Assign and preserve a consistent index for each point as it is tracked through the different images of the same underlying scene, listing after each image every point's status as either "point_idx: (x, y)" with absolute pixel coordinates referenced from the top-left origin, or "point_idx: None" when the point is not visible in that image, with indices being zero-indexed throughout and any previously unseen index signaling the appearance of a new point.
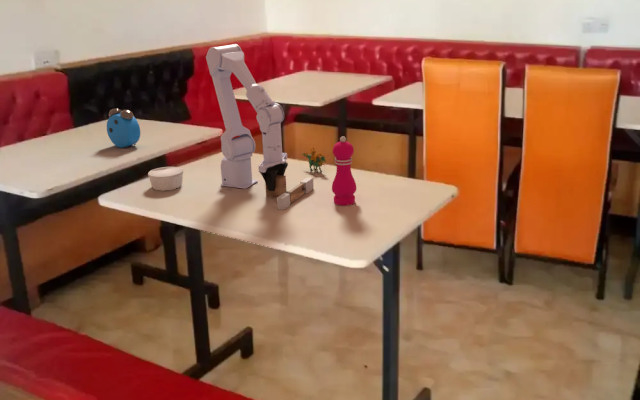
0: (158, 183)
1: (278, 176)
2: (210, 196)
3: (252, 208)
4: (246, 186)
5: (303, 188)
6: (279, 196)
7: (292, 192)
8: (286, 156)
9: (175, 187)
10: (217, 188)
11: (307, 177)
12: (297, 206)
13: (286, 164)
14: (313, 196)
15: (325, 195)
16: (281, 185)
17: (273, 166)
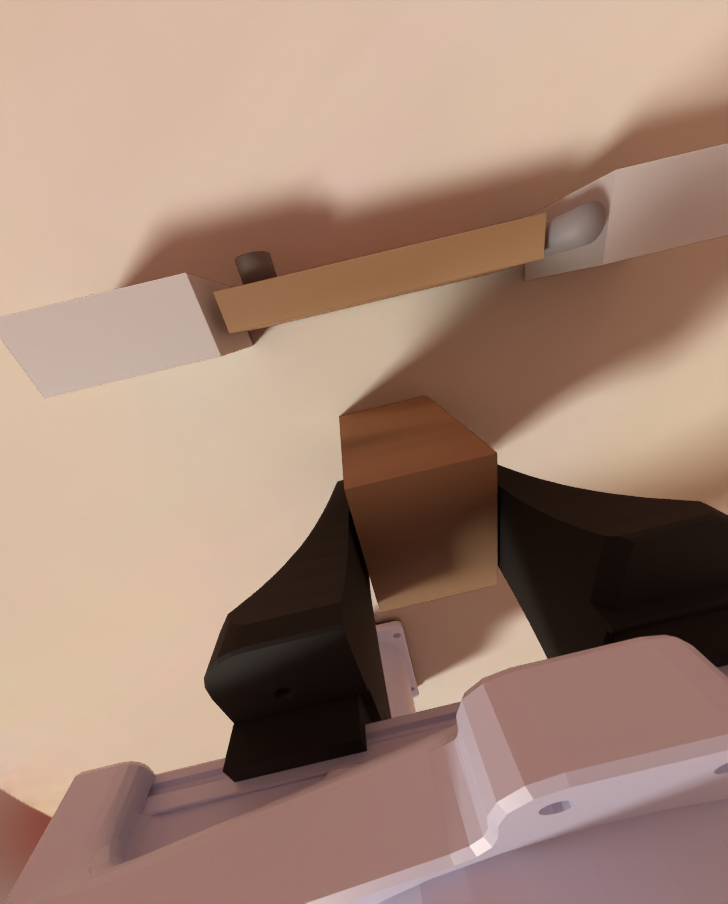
0: None
1: (405, 529)
2: (530, 643)
3: (638, 417)
4: (387, 631)
5: (270, 263)
6: (712, 229)
7: (496, 227)
8: (55, 871)
9: None
10: (443, 679)
11: (49, 390)
12: (535, 119)
13: (284, 629)
14: (241, 158)
15: (117, 19)
16: (429, 432)
17: (382, 690)
